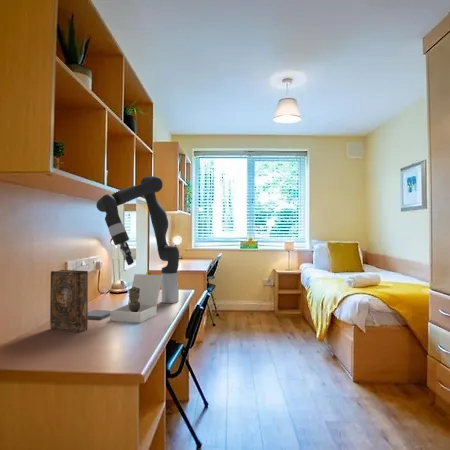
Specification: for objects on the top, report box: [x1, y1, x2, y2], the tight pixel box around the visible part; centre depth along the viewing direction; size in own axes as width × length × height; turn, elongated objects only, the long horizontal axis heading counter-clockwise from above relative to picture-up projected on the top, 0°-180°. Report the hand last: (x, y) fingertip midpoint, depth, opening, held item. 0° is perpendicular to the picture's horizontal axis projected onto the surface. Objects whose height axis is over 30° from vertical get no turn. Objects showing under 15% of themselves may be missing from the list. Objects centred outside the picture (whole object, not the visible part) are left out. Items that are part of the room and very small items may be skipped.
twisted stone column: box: [127, 286, 140, 312], centre depth 176 cm, size 6×6×15 cm
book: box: [49, 269, 89, 333], centre depth 156 cm, size 16×6×25 cm, turn 70°
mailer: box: [109, 273, 163, 324], centre depth 179 cm, size 23×16×19 cm
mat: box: [88, 309, 111, 321], centre depth 179 cm, size 12×12×2 cm
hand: (131, 264), depth 178 cm, fingers open, 8 cm apart
